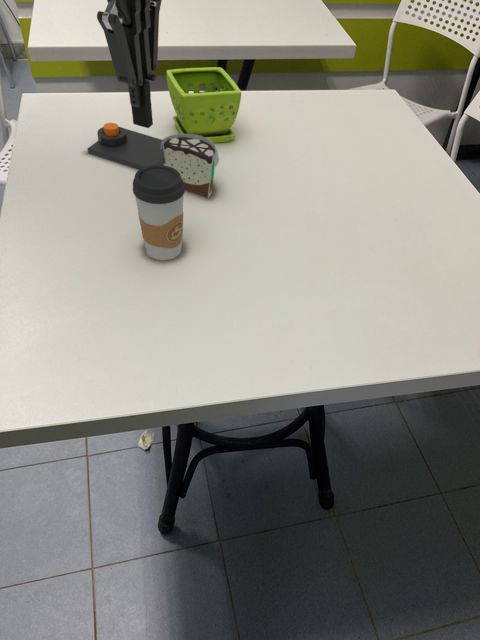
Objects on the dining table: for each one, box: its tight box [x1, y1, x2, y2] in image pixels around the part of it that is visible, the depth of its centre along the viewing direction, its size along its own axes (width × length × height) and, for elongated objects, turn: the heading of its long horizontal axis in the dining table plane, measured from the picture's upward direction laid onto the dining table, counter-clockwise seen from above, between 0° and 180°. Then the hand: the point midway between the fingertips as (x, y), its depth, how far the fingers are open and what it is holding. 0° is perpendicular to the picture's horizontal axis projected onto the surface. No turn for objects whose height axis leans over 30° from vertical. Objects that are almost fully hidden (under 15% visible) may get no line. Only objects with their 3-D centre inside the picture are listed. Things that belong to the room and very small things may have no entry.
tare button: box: [102, 122, 120, 136], centre depth 109 cm, size 3×3×2 cm
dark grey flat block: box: [87, 125, 166, 170], centre depth 110 cm, size 17×12×4 cm
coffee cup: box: [132, 164, 186, 261], centre depth 84 cm, size 8×8×15 cm
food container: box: [161, 133, 220, 199], centre depth 101 cm, size 12×6×10 cm, turn 65°
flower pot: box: [166, 66, 242, 144], centre depth 114 cm, size 14×14×13 cm
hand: (143, 124), depth 79 cm, fingers closed
